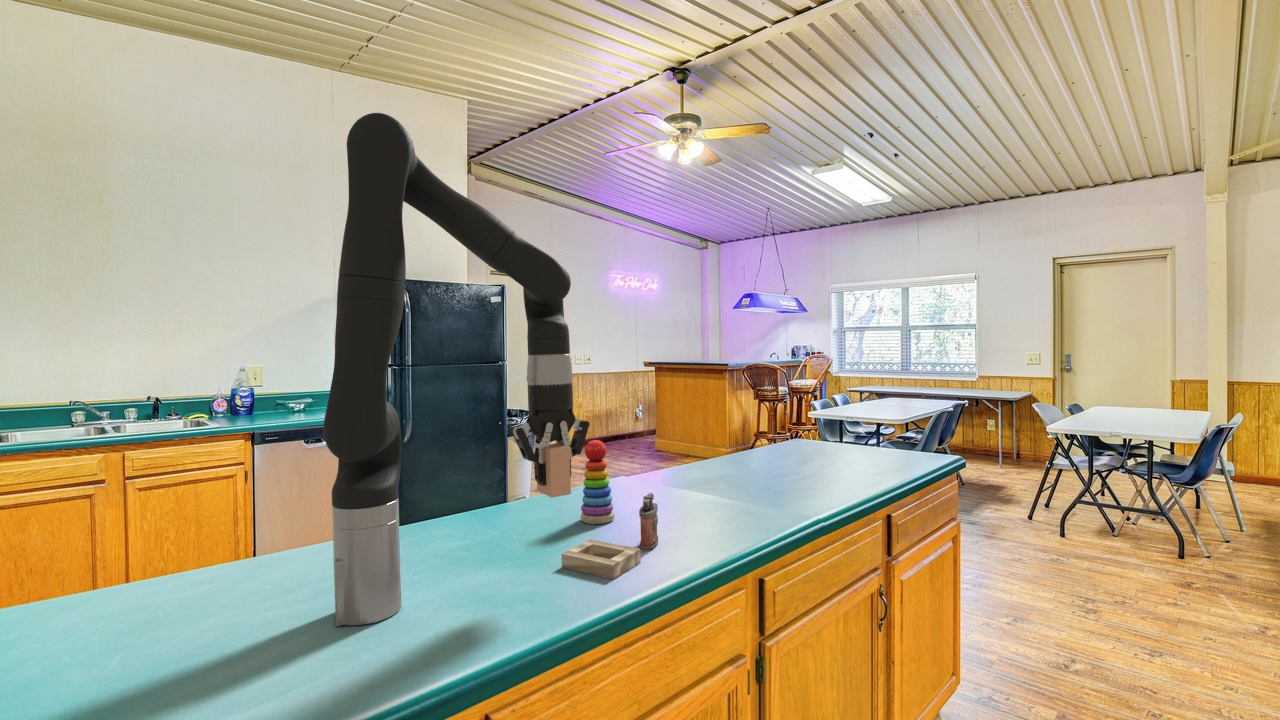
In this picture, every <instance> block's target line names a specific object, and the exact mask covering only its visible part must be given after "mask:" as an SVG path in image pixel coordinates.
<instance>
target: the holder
mask: <svg viewBox="0 0 1280 720" xmlns="http://www.w3.org/2000/svg"><path fill="white" fill-rule="evenodd" d="M641 556H642V555H641V550H640V548H638V547H637V548H636V547H632V546H627V545H622V544H616V543H611V542H605V541H601V540H595V539H589V540H586V541H585V542H583V543H581V544H579V545H577V546H574V547H573V548H571V549H569V550H566V551H564V552H562V553H561V568H563V569H568V570H572V571H577V572H581V573H584V574H590V575H595V576H598V577H603V578H606V579H611V580H616V579H617V578H618V577H619V576H621V575H624V574H625V573H626V572H627V571H629V570H631V569H633V568H634V567H636V566H637V565H639V564H640V563H641V558H642V557H641Z"/></svg>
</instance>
